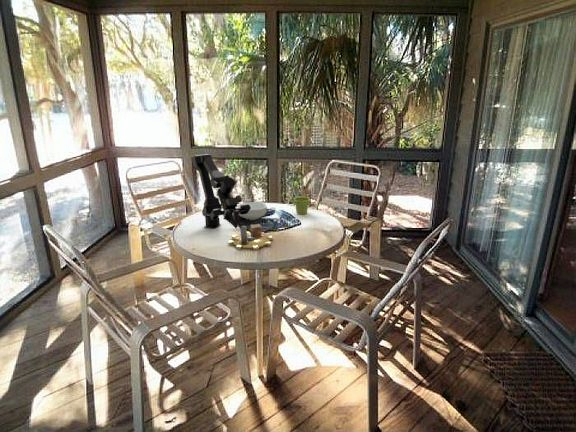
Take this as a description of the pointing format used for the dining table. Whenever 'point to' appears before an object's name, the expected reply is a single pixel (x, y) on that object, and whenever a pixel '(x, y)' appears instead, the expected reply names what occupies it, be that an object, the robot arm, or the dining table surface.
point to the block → (256, 230)
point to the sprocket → (250, 240)
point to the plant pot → (301, 205)
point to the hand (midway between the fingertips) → (236, 227)
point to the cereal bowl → (254, 210)
